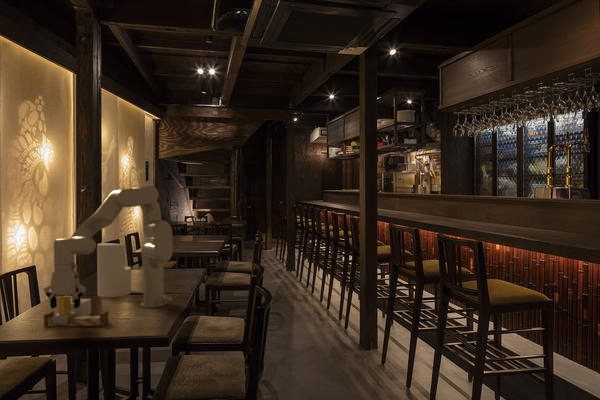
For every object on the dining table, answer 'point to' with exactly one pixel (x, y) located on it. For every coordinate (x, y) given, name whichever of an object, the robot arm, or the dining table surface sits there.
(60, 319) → the carriage
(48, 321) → the rail
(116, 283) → the cylinder
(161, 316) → the dining table surface
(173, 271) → the dining table surface
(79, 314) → the housing
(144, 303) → the robot arm
